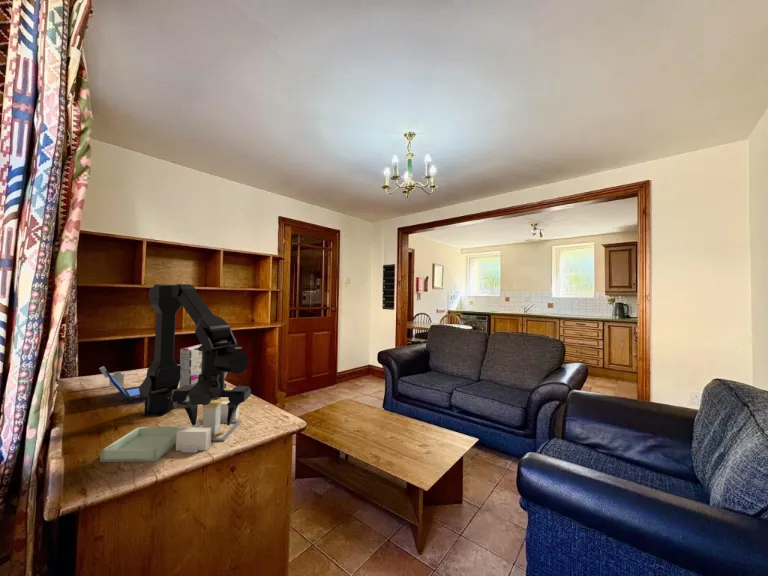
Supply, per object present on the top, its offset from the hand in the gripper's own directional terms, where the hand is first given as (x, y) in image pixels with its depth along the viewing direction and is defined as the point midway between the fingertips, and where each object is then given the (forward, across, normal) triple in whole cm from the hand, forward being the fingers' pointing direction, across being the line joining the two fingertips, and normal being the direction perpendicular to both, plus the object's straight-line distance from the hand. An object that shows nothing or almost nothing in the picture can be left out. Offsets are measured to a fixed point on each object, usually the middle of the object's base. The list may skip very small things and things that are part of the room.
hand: (211, 425), depth 85 cm
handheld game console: (+2, -39, +27) cm, 48 cm away
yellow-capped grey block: (+2, 0, 0) cm, 2 cm away
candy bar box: (+2, -22, +35) cm, 41 cm away
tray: (+2, -11, -9) cm, 14 cm away
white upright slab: (+2, -54, +37) cm, 65 cm away
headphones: (+2, 0, 0) cm, 2 cm away
